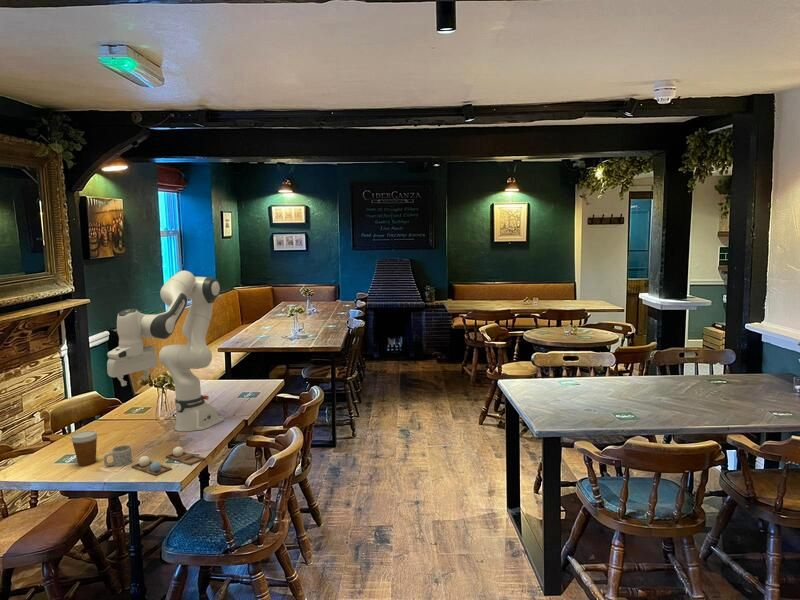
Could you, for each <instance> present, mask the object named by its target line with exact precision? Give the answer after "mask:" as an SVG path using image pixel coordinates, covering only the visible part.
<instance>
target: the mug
mask: <svg viewBox="0 0 800 600" xmlns="http://www.w3.org/2000/svg"><path fill="white" fill-rule="evenodd" d="M110 456H111V457H112V458H113V459H112V462H110V463H109V462H108V460H107V459H108V457H110ZM132 456H133V455H132V447H131V446H130V445H119V446H115V447H114V448H112V450H111V451H110V452H108V453H106V454H105V455H104V456H103V462H104V463H103V464H104V466H105V467H113V466H114V467H124V466H127V465H130V464H132V463H133V457H132Z"/></svg>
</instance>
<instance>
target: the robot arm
mask: <svg viewBox="0 0 800 600" xmlns="http://www.w3.org/2000/svg"><path fill="white" fill-rule="evenodd" d="M220 292H221V285H220V283H219V281H218V279H216V278H214V277H211V276H207V277H206V276H195V275H194V274H193V272H191V271H188V270H180V271H178V272H176V273H175V274H174V275H172V276H171V277H170V278H169V279H168V280H167V281H166V282H165V283H164V284H163V285H162V286H161V288H160V293H159V294H160V295H159V296H160V298H161V300H162V302H163V303H164V304H165V305H166V306H168V308H167V310H166V312H163V313H160V314H145V313H141V311H139V310H138V309H136V308H128V309H122V311H120V312H118V313H117V318H116V330H117V335H118V346H117V347H115V348H113V349H112V350H110V351H108V352H107V354H106V355H107V357H108V360H107V362H106V367H107V368H106V370H107V371H106V372H107V375H108V376H109V377H110V378H117V380H118V381H119V382H120V385H121V387H126V386H127V385H128V384H127V383H128V381H126V380H124V379H123V378H124V376H126V375H130V374H133V373H137V372H142V371H144V374H143V375H142V376H141V377H142V381H147V380H149V374H150V372H151V369H153V368H156V367H158V360H159V363H160V365H162V366H163V367H164V368H165V369H166V370H167V371H168V373H169V374H170V376H171V378H172V381H173V384H174V389H175V390H174V392H175V399H174V403H175V410H176V419H175V425H174V430H175V431H178V432H193V431H204V430H206V429H208V428H211V427H213V426H214V425H218V424H219V423H221V422H223V421H224V417H223V416H221V415H219V413H218V409H217V408H216V407H215V406H213V405H212V404H209V403H207V402H206V401H208V400H209V398H210V397H209V396H210V395H202V394H201V393H202V391H201V388H202V387H201V381H200V379H199V377H198V376H196V375H195V374H194V373H193V372H192V370H199V369H204V368H208V367H209V366H210V365H211V362H212V360H213V354H212V351H211V349H210V348H209V346H208V345H207V340H206V338H207V333H208V329H209V326H210V323H211V319H212V317H213V316H212V315H213V310H214V309H213V308H214V305H213V303H214V302H215V301H216V299H217V298H218V297H219V295H220ZM188 300H190V301H191V304H190V307H189V309H188V312H187V313H186V317H185V318H184V322H183V325H182V328H181V332H182V335H183V336H184V337H185V338H186V339H187V341H186V344H175V343H174V344H169V345H165V346H163V347H162V348H161V349H160V350H159V353H158V358H157V355H156V354H157V353H156V348H155V346H152V345H147V346H146V345H145V346H144V341H143V338H147V339H148V338H149V339H151V338H153V339H163V340H166V339H168V338H170V337H171V336H172V335H173V333H174V332H175V329H176V325H177V323H178V321H179V319H181V317H182V315H183V313H184V311H185V310H186V308H187V305H188ZM205 400H206V401H205Z"/></svg>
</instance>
